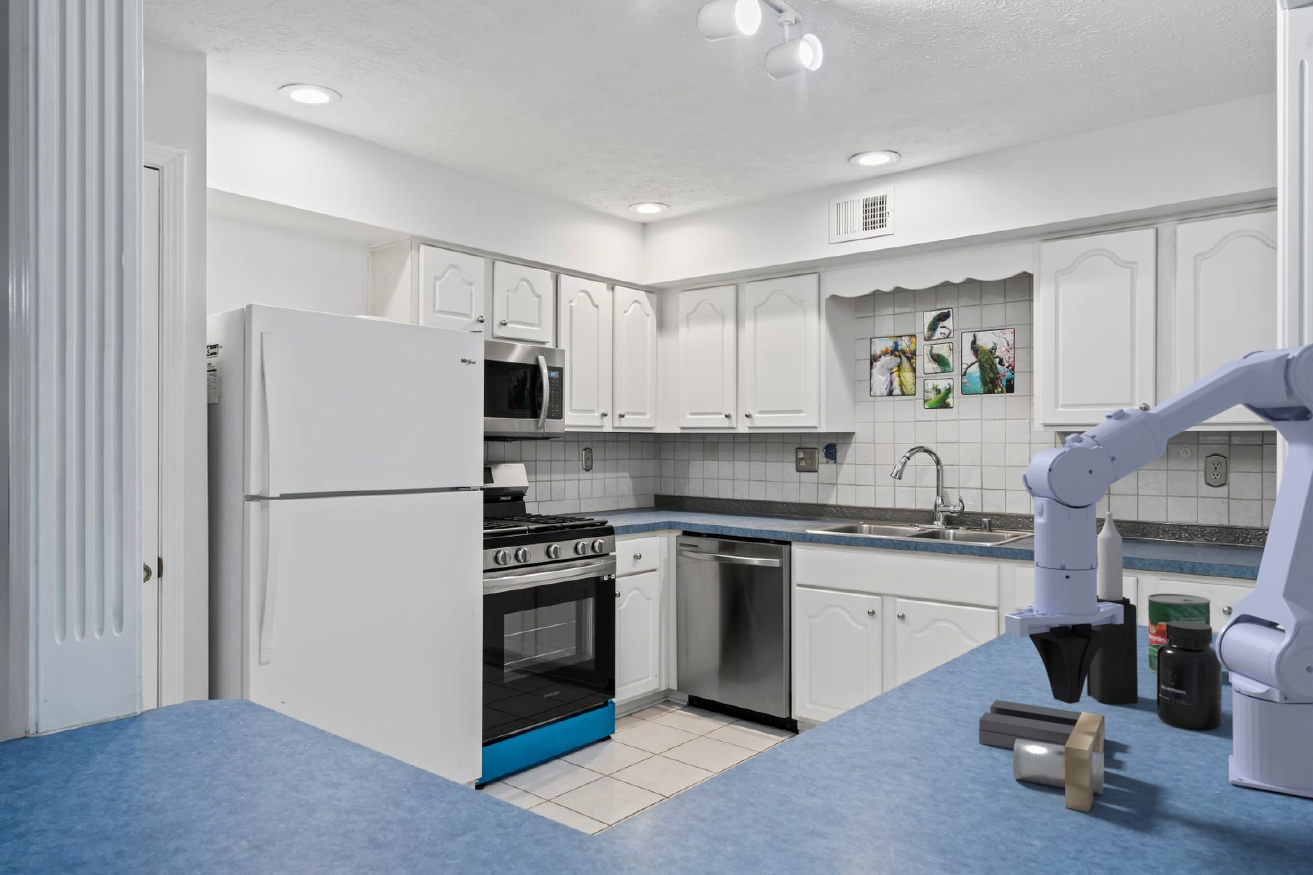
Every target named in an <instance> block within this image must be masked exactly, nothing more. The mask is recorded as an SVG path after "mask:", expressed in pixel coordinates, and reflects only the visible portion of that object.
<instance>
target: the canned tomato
mask: <svg viewBox="0 0 1313 875" xmlns="http://www.w3.org/2000/svg"><path fill="white" fill-rule="evenodd" d="M1147 599H1148V601H1147V602H1148V608H1147V610H1148V663H1149V664H1148V669H1149V670H1148V671H1150V672H1151V673H1152V674H1156V675H1157V650H1158V648H1159V647H1160V646H1161V645H1162V644H1164V643H1166V642H1168V639H1167V638H1166V624H1167V622H1170V621H1189V622H1197V623H1202V624H1206V625H1209V626H1211V607H1210V606H1211V605H1210V603H1211V600H1210V599H1209V598H1207V597H1203V596H1199V595H1193V594H1182V593H1152V594H1149V595H1148V596H1147Z"/></svg>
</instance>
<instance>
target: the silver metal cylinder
mask: <svg viewBox="0 0 1313 875" xmlns="http://www.w3.org/2000/svg"><path fill="white" fill-rule="evenodd" d="M1012 756H1013V757H1012V764H1013V765H1012V768H1013V769H1012V770H1013V776H1014V779H1015V780H1018V781H1025V782H1028V783H1029V782H1030V783H1035V784H1041V785H1046V786H1051V787H1052V786H1053V787H1057V788H1064V789H1065V746H1060V745H1054V744H1048V743H1041V742H1035V741H1029V740H1022V739H1016V741H1015V745H1014V749H1013V755H1012ZM1092 772H1093V794H1096V795H1103V794H1104V786H1105V785H1104V784H1105V756H1104V755H1103V752H1099V751H1092Z"/></svg>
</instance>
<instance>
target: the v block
mask: <svg viewBox="0 0 1313 875" xmlns="http://www.w3.org/2000/svg"><path fill="white" fill-rule="evenodd" d="M1082 712H1083V711H1082ZM1082 712H1080V711H1074V710H1073V711H1072V710H1067V709H1059V708H1053V707H1045V706H1040V705H1034V704H1026V703H1020V702H1014V701H1013V702H1012V701H1006V700H999V699H995V700H994V701H993V703H992V704H991V705H990V712H986V711H985V712H984V713H983V714H982V715H981V717H980V718H979V720H978V721H979V722H978V724H979V729H978V743H979V744H982V745H987V746H993V747H999V748H1004V749H1011V750H1014V745H1015V741H1016V739H1022V740H1029V741H1035V742H1041V743H1048V744H1054V745H1060V746H1065V745H1066V743H1067V741H1068V739H1069V737H1070V735H1071V733H1072V731H1073V729H1074V727H1075V725H1076V723H1077V721H1078V719H1079V717H1080V715H1081V713H1082ZM1105 717H1106V716H1105V715H1103V740H1104V741H1105V740H1106V725H1105Z"/></svg>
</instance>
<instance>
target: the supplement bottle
mask: <svg viewBox="0 0 1313 875" xmlns="http://www.w3.org/2000/svg"><path fill="white" fill-rule="evenodd" d="M1166 638H1167V639H1168V642H1166V643H1164V644H1162V645H1161V646H1160V647H1159V648H1158V650H1157V674H1156V715H1157V717H1158V719H1159V720H1160V721H1162V722H1163V723H1165V724H1167V725H1170V726H1172V727H1175V728H1179V729H1185V730H1190V731H1199V732H1200V731H1201V732H1202V731H1204V732H1206V731H1207V732H1208V731H1214V730H1217V729H1218V728H1220V727H1221V726H1222V718H1223V715H1222V714H1223V713H1222V712H1223V666H1222V665H1221V664H1220V662H1219V660H1218V658H1217V655H1216V650H1215V647H1212V646H1211V644H1212V643H1213V642H1214V638H1213V628H1212V626H1211V625H1210V626H1209V625H1206V624H1202V623H1197V622H1189V621H1170V622H1167V624H1166Z"/></svg>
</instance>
